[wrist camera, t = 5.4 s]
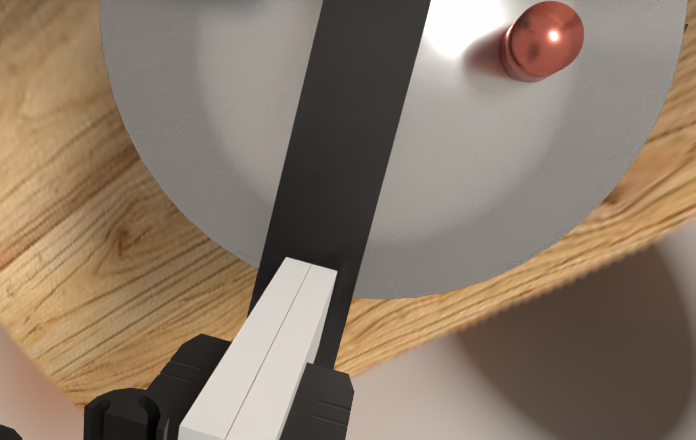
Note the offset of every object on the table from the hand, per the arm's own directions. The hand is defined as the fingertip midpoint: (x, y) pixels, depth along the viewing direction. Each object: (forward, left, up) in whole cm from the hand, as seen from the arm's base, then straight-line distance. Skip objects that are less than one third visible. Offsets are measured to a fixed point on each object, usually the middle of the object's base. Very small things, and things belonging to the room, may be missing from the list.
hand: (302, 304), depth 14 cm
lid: (0, +5, -5) cm, 7 cm away
